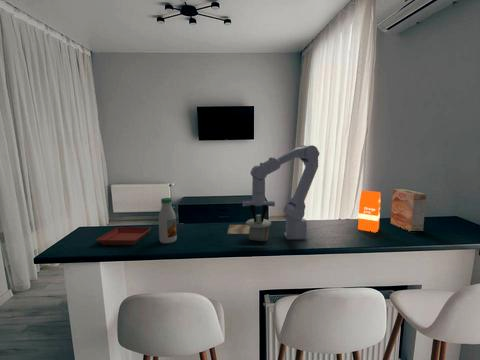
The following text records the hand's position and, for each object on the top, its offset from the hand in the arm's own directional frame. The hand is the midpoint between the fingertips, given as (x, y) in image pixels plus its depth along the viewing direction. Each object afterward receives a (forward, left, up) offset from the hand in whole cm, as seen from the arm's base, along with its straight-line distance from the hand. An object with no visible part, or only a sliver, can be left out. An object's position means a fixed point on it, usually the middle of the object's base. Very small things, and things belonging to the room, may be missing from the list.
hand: (258, 221), depth 116 cm
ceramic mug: (0, -1, -9) cm, 9 cm away
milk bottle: (+42, +1, -9) cm, 43 cm away
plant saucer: (+63, -1, -10) cm, 64 cm away
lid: (0, 0, -1) cm, 1 cm away
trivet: (+8, -13, -9) cm, 18 cm away
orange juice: (-58, -17, -9) cm, 61 cm away
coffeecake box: (-79, -20, -9) cm, 82 cm away
